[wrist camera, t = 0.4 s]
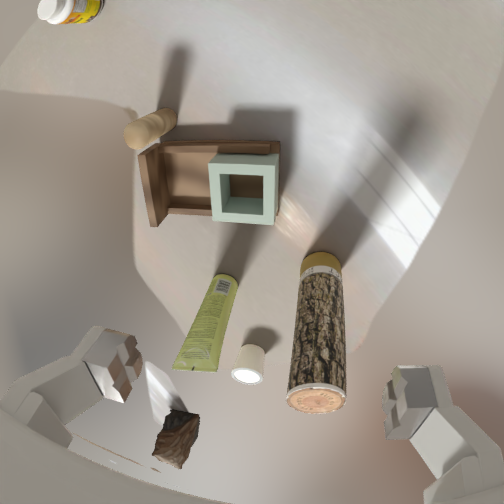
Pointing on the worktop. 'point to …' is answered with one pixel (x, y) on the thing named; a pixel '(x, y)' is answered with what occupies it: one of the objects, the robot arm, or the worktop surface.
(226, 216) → the socket block
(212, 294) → the tube
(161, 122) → the dowel
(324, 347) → the paper tube
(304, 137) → the worktop surface
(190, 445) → the brown rock
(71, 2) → the supplement bottle
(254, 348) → the white short cylinder
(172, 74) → the worktop surface
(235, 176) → the wooden tray
